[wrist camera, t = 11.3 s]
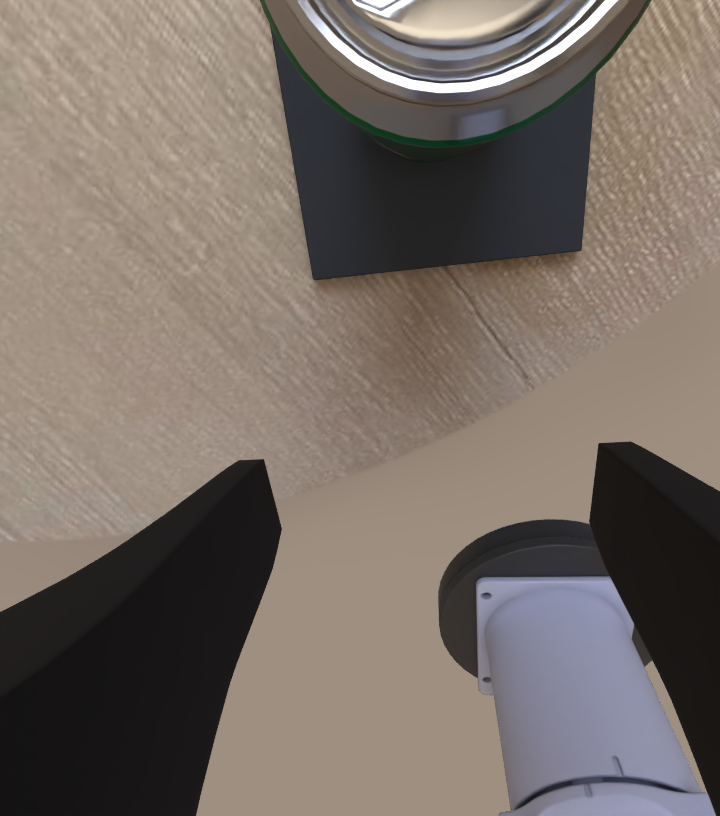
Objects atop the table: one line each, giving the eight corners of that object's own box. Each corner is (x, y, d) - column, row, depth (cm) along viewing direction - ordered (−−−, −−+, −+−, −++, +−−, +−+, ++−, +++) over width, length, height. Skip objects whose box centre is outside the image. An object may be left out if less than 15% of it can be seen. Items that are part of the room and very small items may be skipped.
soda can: (326, 26, 14) (75, -382, 4) (484, -72, 13) (781, -1137, 2) (388, 189, 16) (336, 219, 6) (532, 119, 15) (816, -14, 4)
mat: (577, 248, 17) (581, 251, 17) (315, 278, 19) (312, 280, 18) (616, -241, 12) (624, -257, 11) (245, -143, 13) (239, -154, 13)
